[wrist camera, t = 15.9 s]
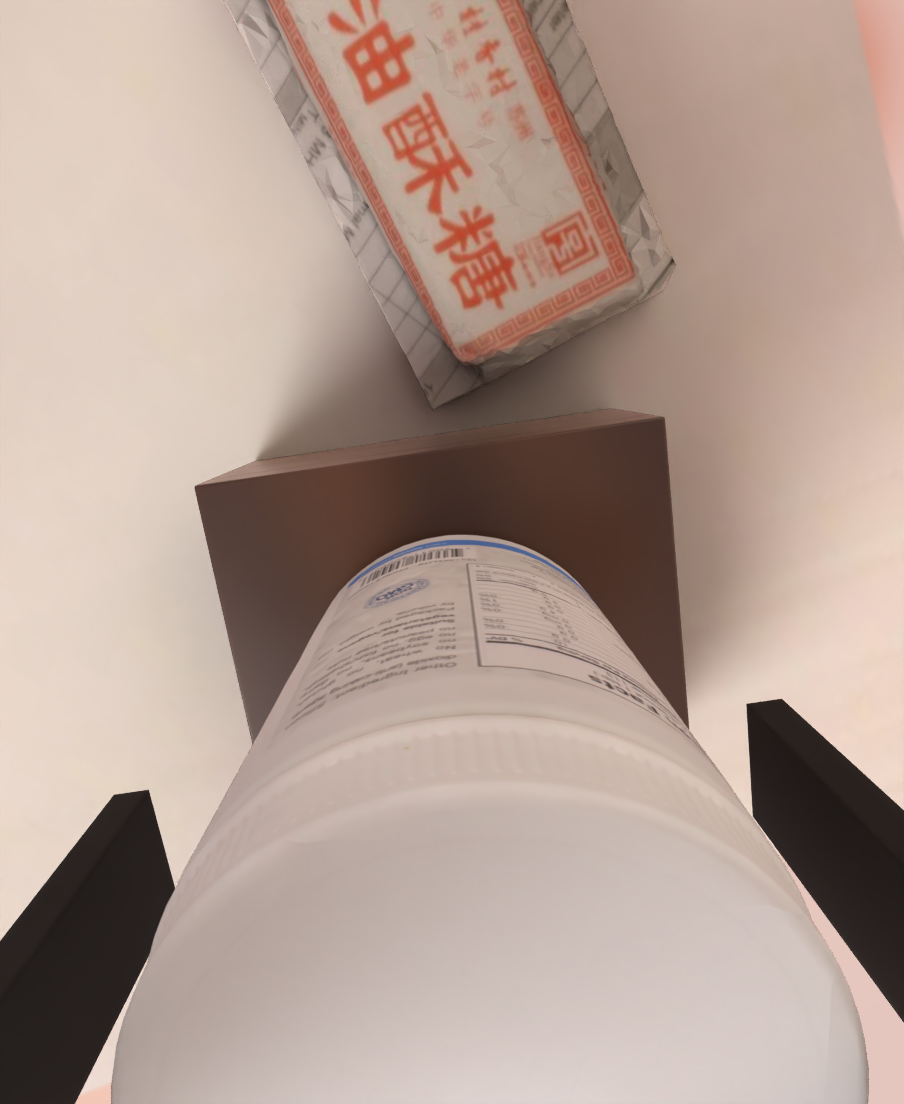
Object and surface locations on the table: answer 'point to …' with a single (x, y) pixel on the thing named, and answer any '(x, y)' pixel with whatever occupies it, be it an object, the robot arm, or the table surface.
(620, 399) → the table surface
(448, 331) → the packaged product
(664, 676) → the block
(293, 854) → the supplement tub
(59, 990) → the robot arm
